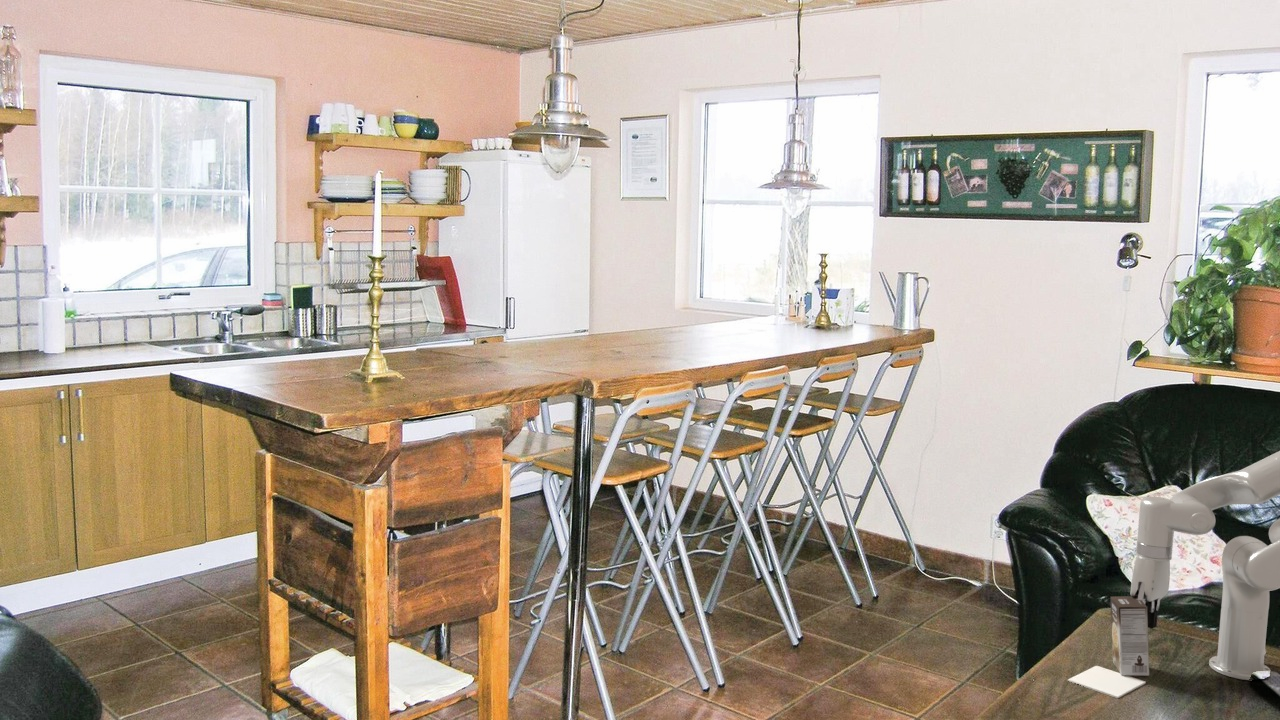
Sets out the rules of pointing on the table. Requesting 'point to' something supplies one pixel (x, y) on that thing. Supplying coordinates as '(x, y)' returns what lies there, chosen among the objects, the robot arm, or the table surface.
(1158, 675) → the table surface
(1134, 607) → the coffee box
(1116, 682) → the mat
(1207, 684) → the table surface
